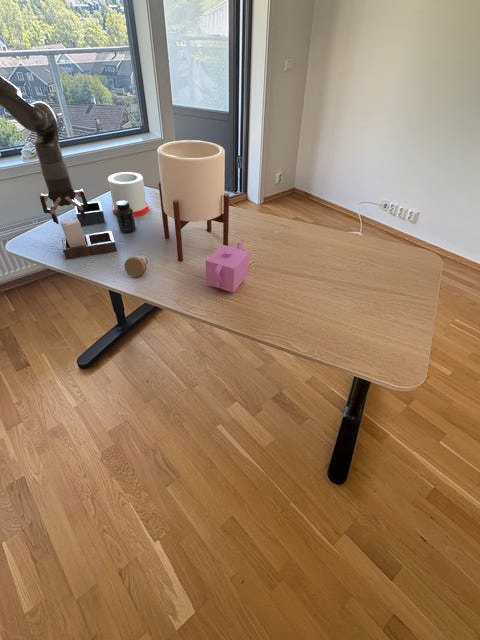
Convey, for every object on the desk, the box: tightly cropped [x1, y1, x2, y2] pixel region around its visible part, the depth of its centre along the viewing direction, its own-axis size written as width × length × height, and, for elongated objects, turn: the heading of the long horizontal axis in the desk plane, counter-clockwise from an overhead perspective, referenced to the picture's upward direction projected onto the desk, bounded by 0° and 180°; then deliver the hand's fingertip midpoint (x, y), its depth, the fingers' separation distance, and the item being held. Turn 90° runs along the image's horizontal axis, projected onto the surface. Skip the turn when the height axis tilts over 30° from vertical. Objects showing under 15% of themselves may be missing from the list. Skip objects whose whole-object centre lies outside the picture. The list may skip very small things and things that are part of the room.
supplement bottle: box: [115, 201, 137, 235], centre depth 141 cm, size 7×7×12 cm
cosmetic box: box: [60, 217, 87, 248], centre depth 127 cm, size 6×4×12 cm
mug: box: [123, 255, 149, 278], centre depth 121 cm, size 8×10×10 cm
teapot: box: [205, 239, 250, 293], centre depth 117 cm, size 20×10×12 cm, turn 155°
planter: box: [157, 139, 230, 262], centre depth 127 cm, size 22×22×36 cm
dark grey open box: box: [74, 201, 106, 228], centre depth 149 cm, size 10×10×6 cm
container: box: [107, 171, 149, 218], centre depth 156 cm, size 16×16×15 cm
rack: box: [61, 230, 118, 261], centre depth 131 cm, size 18×10×4 cm, turn 114°
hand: (70, 221), depth 123 cm, fingers open, 8 cm apart
